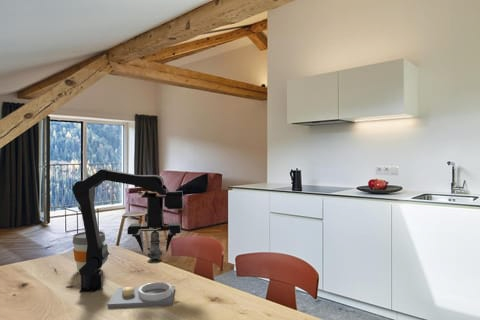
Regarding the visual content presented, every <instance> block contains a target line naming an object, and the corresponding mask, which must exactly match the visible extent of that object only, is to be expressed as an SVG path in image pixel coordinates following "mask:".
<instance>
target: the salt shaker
mask: <svg viewBox="0 0 480 320" xmlns="http://www.w3.org/2000/svg"><path fill="white" fill-rule="evenodd" d="M160 242H161V240H160V232H159V231H151V232H150V241H149V243H150V247H149V250H147V251H146V253H147V256H148V258H149V259H148V260H147V263H148V264H153V265H154V264H160V263H161V262H163V259H161V257H163V252H164V250H163V249H161V248H160Z"/></svg>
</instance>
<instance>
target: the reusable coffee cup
mask: <svg viewBox="0 0 480 320" xmlns="http://www.w3.org/2000/svg"><path fill="white" fill-rule="evenodd" d="M99 235H100V240H101V242H102V244H103V245H105V242H106V235H105V232H104V231H99ZM72 244H73V249H72V250H73V256H74V257H73V258H74V261H75V263H76V270H77V273H78V274H80V272H79V269H80V268H82V267H83V266H84V265H85V264H86V251H87V240H86V234H85V231H82V232H78V233H75V234H73V236H72ZM99 270H102V267H101V268H100V269H99Z"/></svg>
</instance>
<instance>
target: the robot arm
mask: <svg viewBox="0 0 480 320" xmlns="http://www.w3.org/2000/svg"><path fill="white" fill-rule="evenodd" d="M105 181H108V182H112V183H119V184H123V185H124V184H126V185H131V186H136V187H139V188H141V189H143V190H145V192H144V193H143V194H142V195H141V197H140V198H142V199H143V198H144V199H146V213H145V215H144V222H145V223H146V225H142V223H130V224H129V226H128V227H127V233H126V234H127V235H131V237H134V238H135V239H136V241H137V243H138V246H139V248H140V251H141V253H144V251H145V249H144V247H145V246H144V236H143V232H154V231H157V232H168V233H167V238H166V245H165V251H166V252H168V250H169V247H170V244H171V241H172V239H173V237H174V236H175V237H176V236H177V234H181V231H182V224H181V222H170V223H169V225H164V224H165V218H164V207H165V208H167V210H170V211H171V210H184V203H185V199H184V193H183V192H184V191H183V190H177V191H171V190H169V189H168V188H167V186H166V185H165V180H164V178H163V177H162V176H161V175H158V174H141V175H140V174H134V173H128V172H122V171H117V170H110V169H108V168H102V169H99V170H98V171H96V172H95V173H94V174H92V175H91V176H89V177H87V178H85V179H82V180H79V181H76V182H74V184H73V185H72V189H71V190H72V193H73V196H74V198H75V200H76V202H77V204H78V205H79V207H80V212H81V217H82V223H83V228H84V232H85V234H86V240H87V251H86V264H85V265H84V266H83V267H82V268H80V269H79V272H80V273H79V275H80V288H79V290H78V291H79V293H81V292H85V293H86V292H99V290H100V289H101V288H102V287H103V286H104V274H103V271H102V267H103V265H104V264H105V263H106V262H107V260H108V258H109V256H110V252H109V250H108V244H107V243H106V244H105V243H104V245H103V244H102V242H101V240H100V235H99V225H98V219H97V214H96V209H95V199H96V188H97V187H99V186H100V185H101V184H103V183H104V182H105ZM100 268H101V269H100ZM99 269H100V270H99Z"/></svg>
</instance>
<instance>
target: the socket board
mask: <svg viewBox="0 0 480 320" xmlns="http://www.w3.org/2000/svg"><path fill="white" fill-rule="evenodd" d="M175 288H176V286H175V285H171V284H170V283H169V282H163V281H153V282H149V283H145V284H143V285H141V286H134V287H133V286H126V287H117V288H116V290H115V291H114V293H113V294H112V297H111V299H110V300H109V301H108V303H107V308H109V309H111V308H114V309H115V308H133V307H134V308H135V307H137V308H138V307H157V306H172V305H173V299H174V296H175V295H174V294H175V290H176V289H175Z"/></svg>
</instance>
